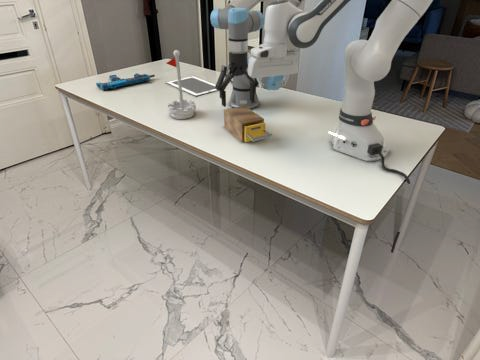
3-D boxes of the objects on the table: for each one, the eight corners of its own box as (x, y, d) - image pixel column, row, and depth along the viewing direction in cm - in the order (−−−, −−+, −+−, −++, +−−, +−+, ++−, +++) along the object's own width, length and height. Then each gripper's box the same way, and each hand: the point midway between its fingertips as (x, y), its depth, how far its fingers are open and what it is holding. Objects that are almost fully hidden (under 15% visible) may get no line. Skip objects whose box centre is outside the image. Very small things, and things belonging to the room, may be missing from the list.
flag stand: (192, 108, 172) (187, 46, 156) (199, 117, 162) (194, 52, 146) (166, 111, 169) (158, 48, 152) (172, 121, 158) (164, 54, 142)
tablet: (166, 82, 208) (166, 82, 207) (193, 76, 219) (193, 76, 219) (195, 96, 187) (195, 95, 187) (224, 88, 198) (224, 87, 198)
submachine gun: (140, 68, 225) (159, 74, 209) (141, 73, 227) (159, 80, 211) (88, 78, 207) (104, 85, 190) (90, 84, 209) (106, 92, 192)
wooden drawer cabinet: (263, 137, 145) (264, 118, 140) (241, 142, 141) (241, 123, 136) (244, 122, 157) (244, 105, 153) (224, 127, 153) (223, 109, 149)
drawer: (272, 143, 138) (273, 128, 134) (252, 148, 134) (253, 133, 131) (247, 123, 154) (247, 110, 150) (228, 127, 150) (228, 114, 147)
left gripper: (260, 46, 142) (258, 96, 153) (205, 52, 132) (207, 105, 144) (269, 50, 136) (267, 101, 148) (213, 56, 127) (215, 110, 138)
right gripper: (295, 46, 131) (291, 81, 138) (246, 49, 124) (245, 87, 131) (303, 49, 126) (299, 86, 133) (253, 53, 119) (252, 92, 127)
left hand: (238, 103), depth 146 cm, fingers open, 13 cm apart
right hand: (272, 86), depth 132 cm, fingers open, 8 cm apart
